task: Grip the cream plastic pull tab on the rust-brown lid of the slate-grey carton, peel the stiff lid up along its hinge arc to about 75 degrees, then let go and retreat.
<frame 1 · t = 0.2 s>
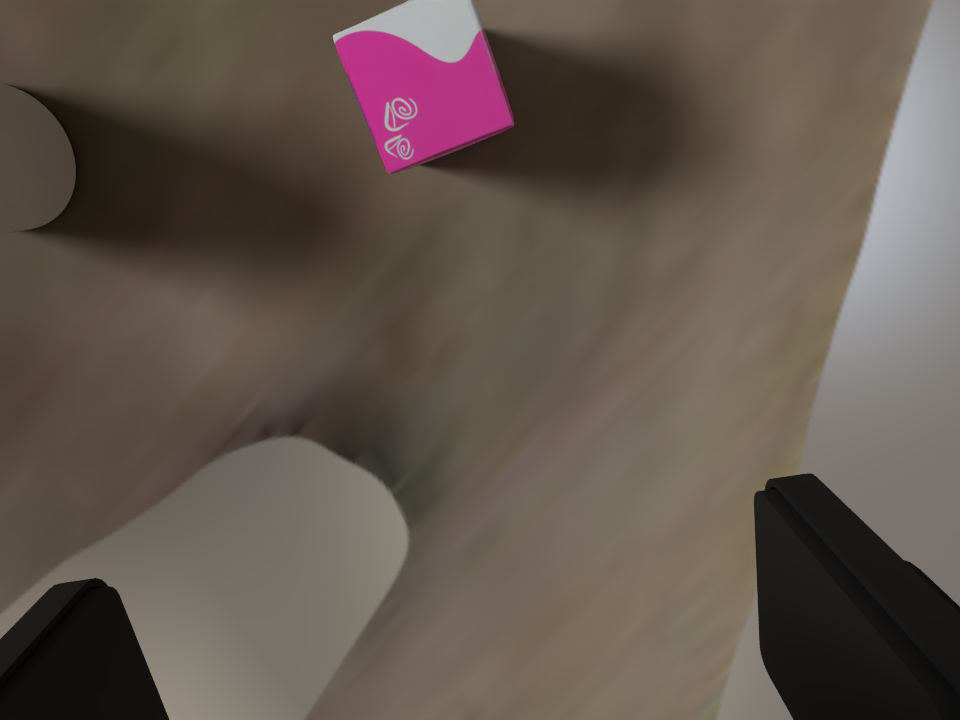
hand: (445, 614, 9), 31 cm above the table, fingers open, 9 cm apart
supplement box: (442, 99, 36), on the table
travel mug: (10, 158, 37), on the table
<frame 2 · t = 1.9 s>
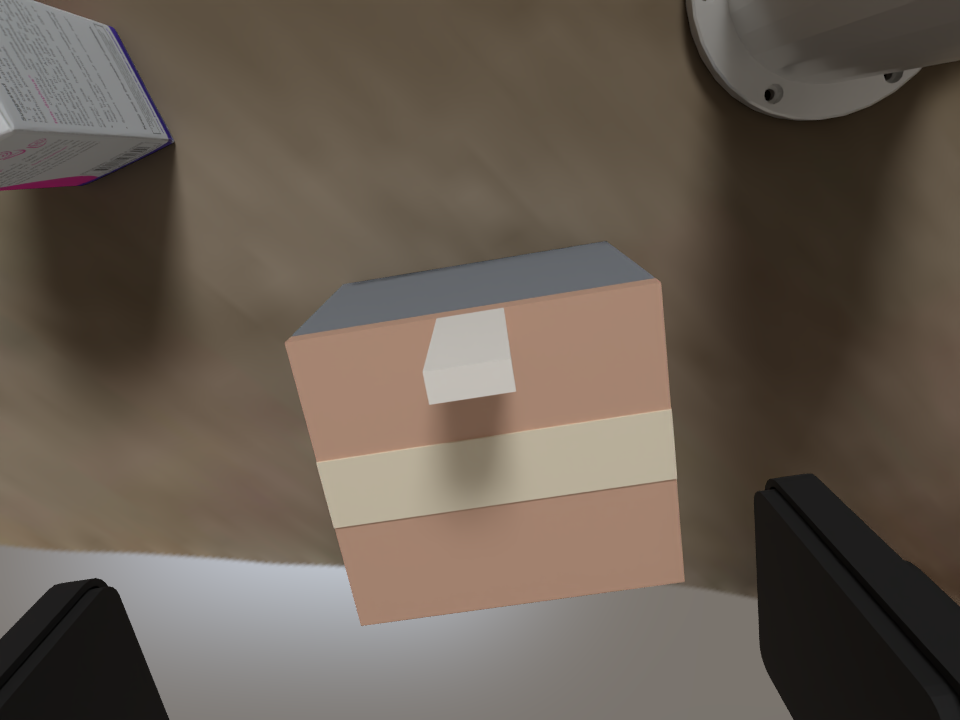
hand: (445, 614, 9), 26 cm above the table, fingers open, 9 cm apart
lid: (499, 504, 23), point 13 cm above the table, hinge at 0.0°
supplement box: (97, 108, 32), on the table
carton: (492, 377, 36), on the table
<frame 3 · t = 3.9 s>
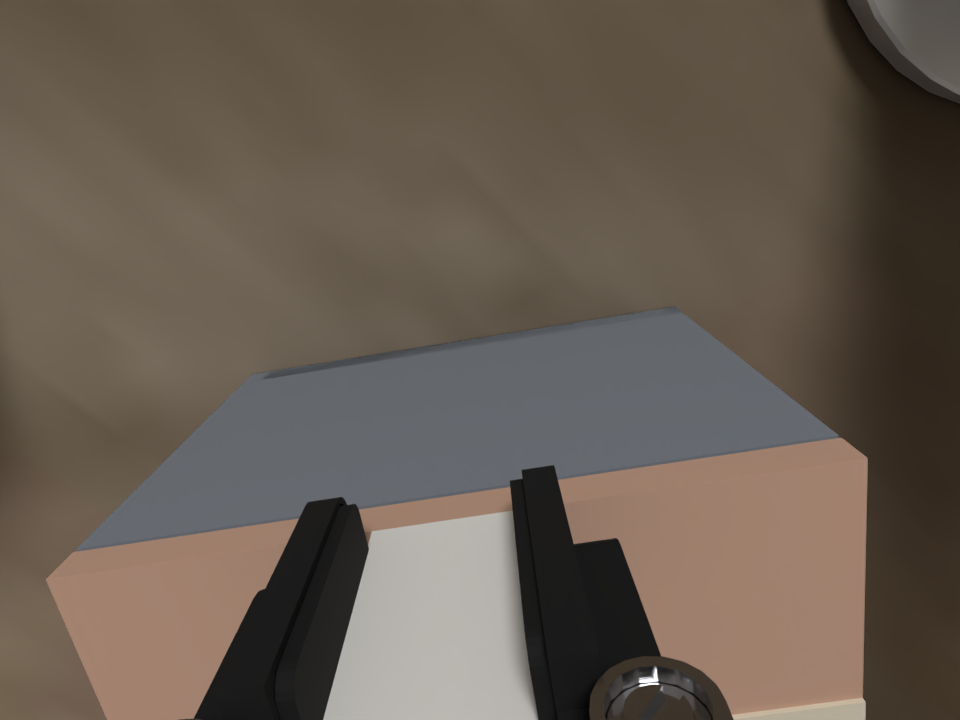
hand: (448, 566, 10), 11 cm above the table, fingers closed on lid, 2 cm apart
carton: (491, 513, 23), on the table
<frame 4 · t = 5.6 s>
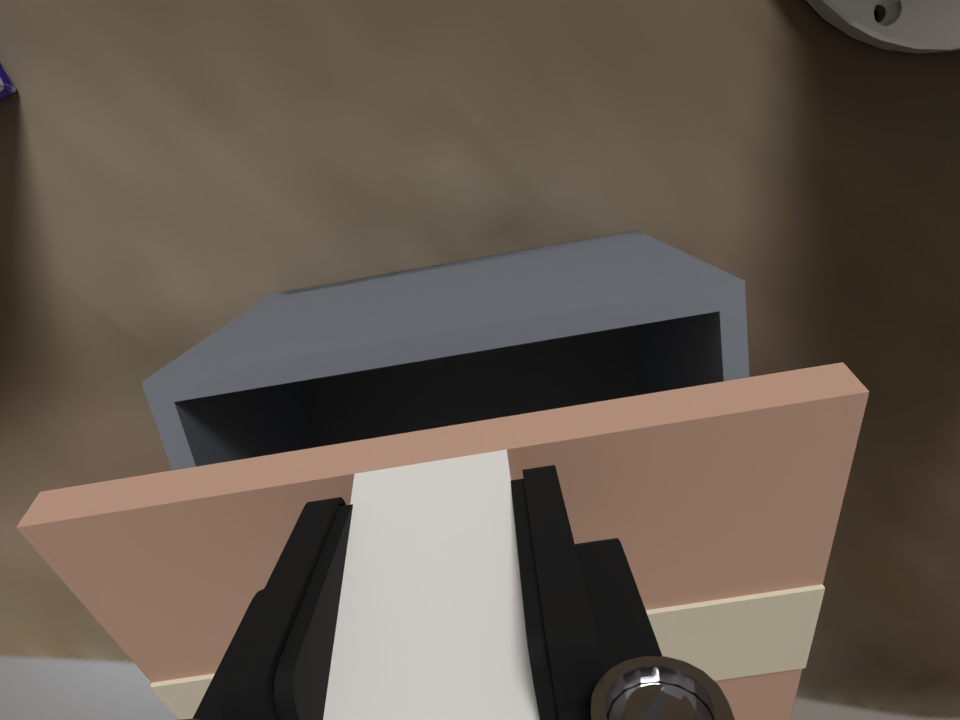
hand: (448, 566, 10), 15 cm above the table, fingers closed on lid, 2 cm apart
carton: (480, 421, 26), on the table
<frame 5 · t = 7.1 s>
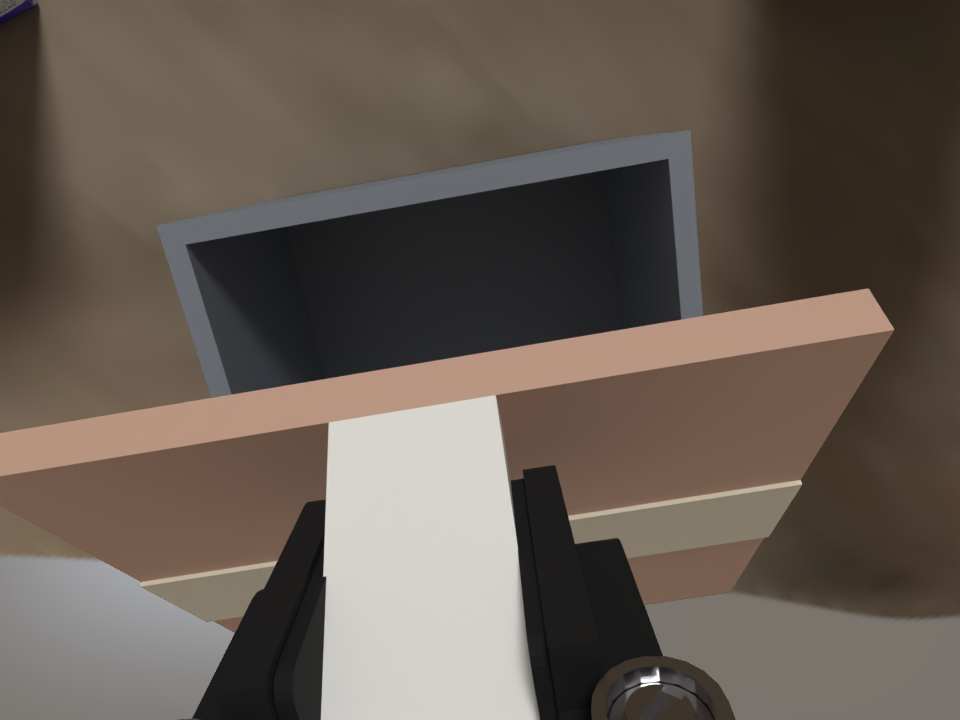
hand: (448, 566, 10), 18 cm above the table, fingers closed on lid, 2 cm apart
lid: (486, 680, 13), point 17 cm above the table, hinge at 36.4°, touching gripper
carton: (466, 324, 28), on the table
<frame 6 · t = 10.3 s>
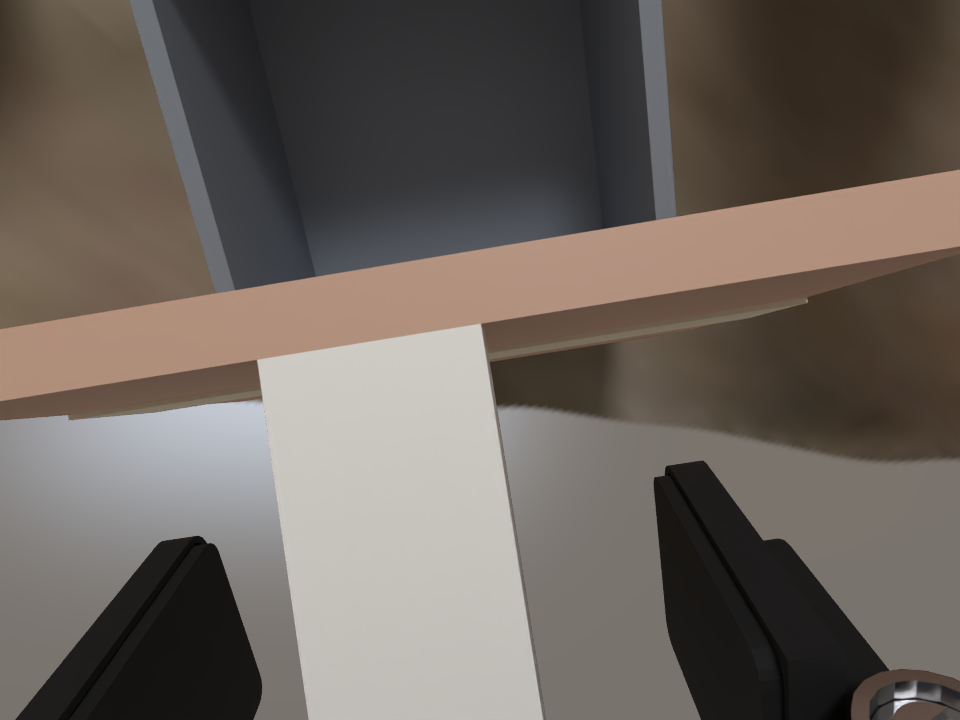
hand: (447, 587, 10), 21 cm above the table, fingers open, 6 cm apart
lid: (456, 483, 13), point 17 cm above the table, hinge at 70.1°
carton: (437, 131, 28), on the table
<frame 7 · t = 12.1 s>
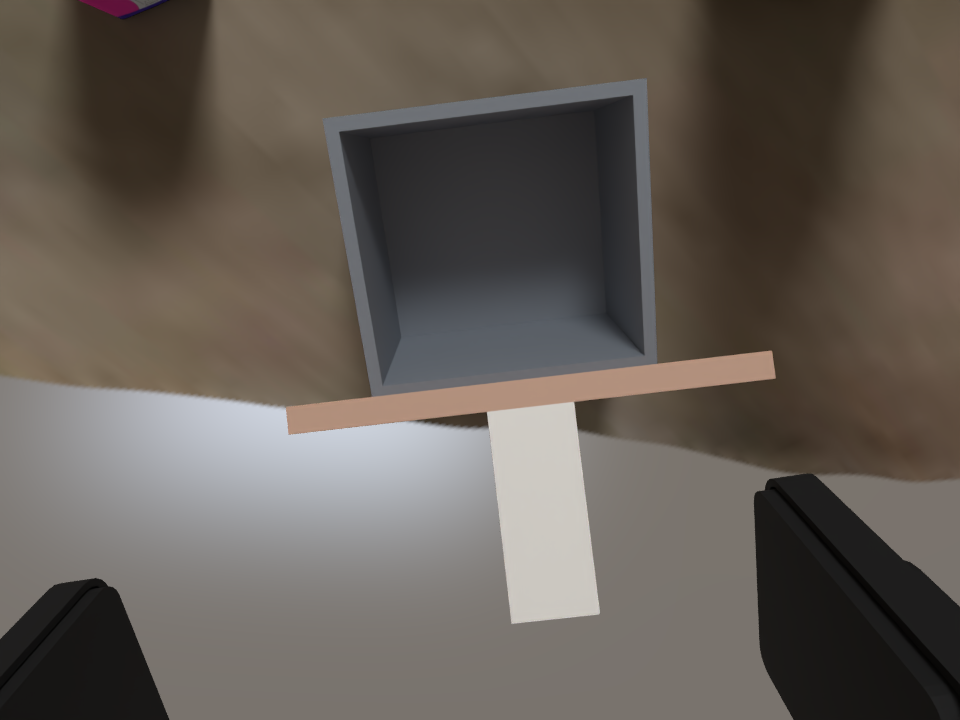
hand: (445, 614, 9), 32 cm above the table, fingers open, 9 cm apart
lid: (529, 469, 25), point 17 cm above the table, hinge at 70.1°
carton: (492, 228, 39), on the table
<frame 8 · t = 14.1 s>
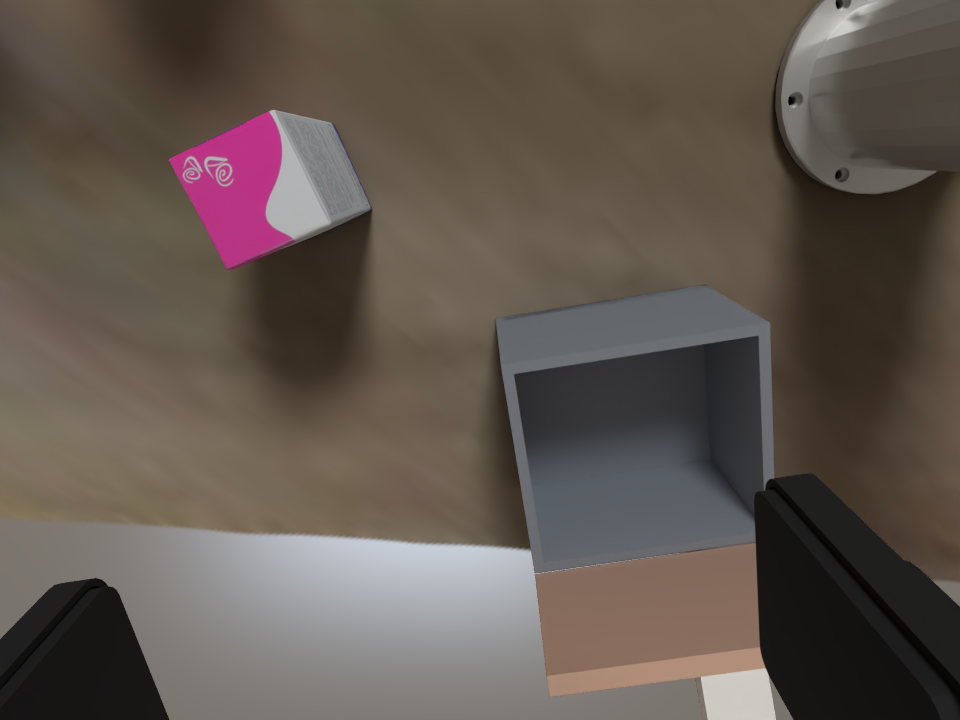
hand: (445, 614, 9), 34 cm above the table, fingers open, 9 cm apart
lid: (696, 665, 31), point 17 cm above the table, hinge at 70.1°
supplement box: (312, 183, 41), on the table
carton: (609, 392, 45), on the table
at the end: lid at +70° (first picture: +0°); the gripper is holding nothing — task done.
